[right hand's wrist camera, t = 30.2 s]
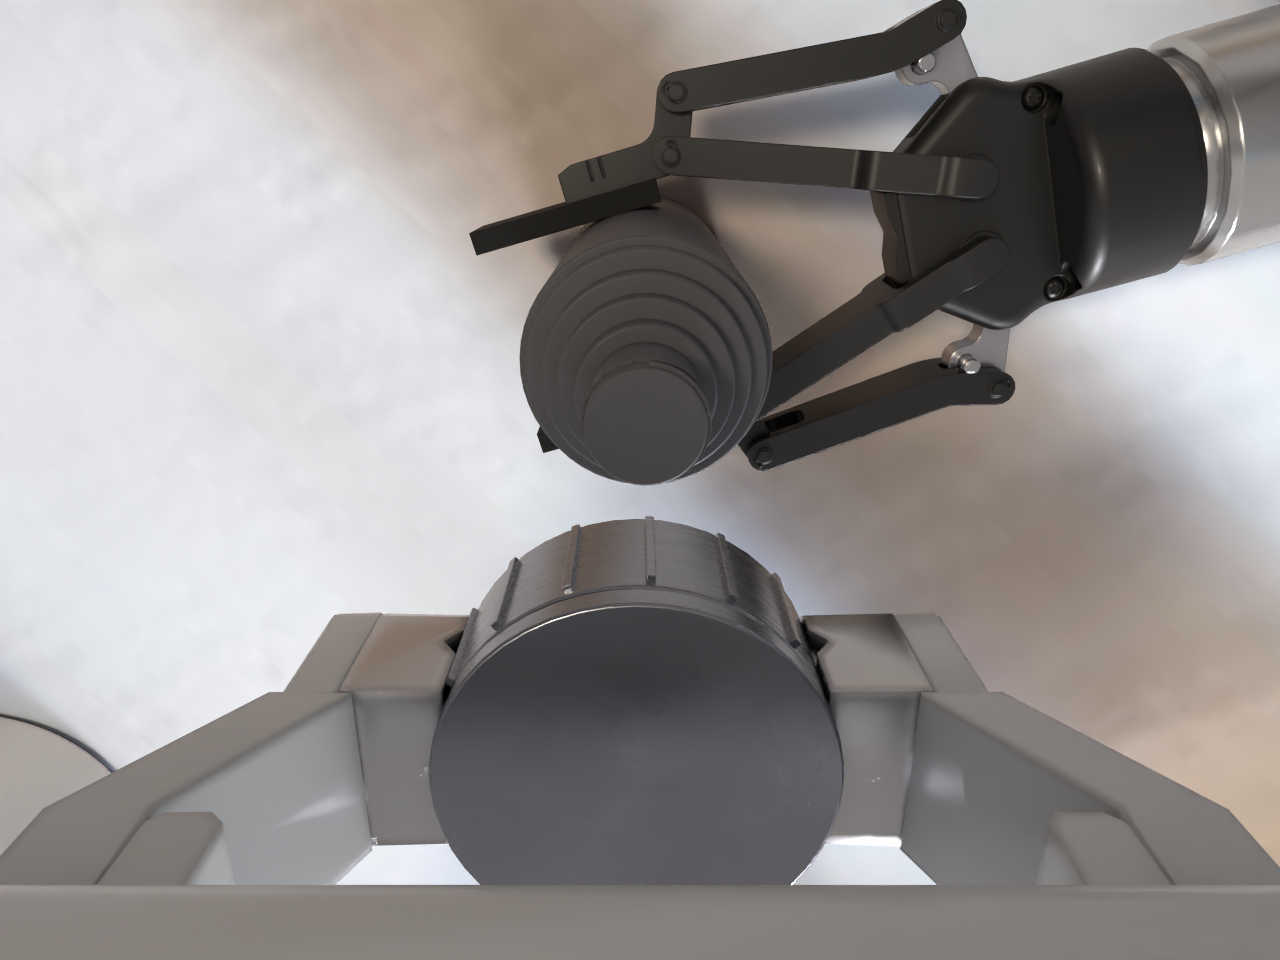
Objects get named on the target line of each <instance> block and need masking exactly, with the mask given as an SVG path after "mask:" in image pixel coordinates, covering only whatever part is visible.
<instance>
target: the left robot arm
mask: <svg viewBox="0 0 1280 960" xmlns="http://www.w3.org/2000/svg"><path fill="white" fill-rule="evenodd" d="M966 19H967V15H966V10H965V8H964V6H963V5H962V3H961V2H959V1H957V0H941V1H939V2H937V3H934V4H932V5H930V6H928V7H926V8H924V9H922V10H919V11H917V12H916V13H914V14H912V15H911V16H909V17H907V18H906V19H904V20H902V21H901V22H899V23H897V24H896V25H894V26H892V27H891V28H889V29H888V30H886V31H884V32H882V33H877V34H872V35H866V36H861V37H856V38H851V39H845V40H840V41H835V42H829V43H824V44H819V45H814V46H808V47H803V48H798V49H793V50H787V51H782V52H777V53H772V54H766V55H761V56H756V57H750V58H745V59H740V60H735V61H729V62H724V63H719V64H714V65H708V66H703V67H698V68H692V69H687V70H682V71H677V72H672V73H670V74H668V75H666V76H665V77H664V78H663V79H662V80H661V81H660V84H659V86H658V90H657V98H656V111H655V123H654V129H653V131H652V133H651V135H650V136H649V138H648V139H647V140H645V141H644V142H643V143H641V144H638V145H636V146H632V147H629V148H625V149H622V150H619V151H615V152H612V153H609V154H605V155H602V156H599V157H595V158H592V159H589V160H585V161H582V162H579V163H575V164H572V165H570V166H569V167H568V168H566V169H565V170H564V171H563V172H562V173H560V174H559V175H558V177H559V181H560V184H561V187H562V191H563V194H564V198H565V201H566V202H563V203H560V204H556V205H553V206H549V207H546V208H543V209H539V210H536V211H532V212H529V213H526V214H522V215H519V216H515V217H512V218H509V219H505V220H502V221H498V222H495V223H492V224H488V225H485V226H482V227H480V228H479V229H477V230H475V231H473V232H471V233H469V234H470V237H471V240H472V243H473V246H474V249H475V252H476V255H480V254H483V253H487V252H490V251H494V250H497V249H501V248H504V247H507V246H511V245H514V244H518V243H521V242H525V241H528V240H532V239H535V238H538V237H542V236H545V235H549V234H552V233H556V232H559V231H563V230H566V229H569V228H573V227H576V226H580V225H583V224H587V223H590V222H594V221H597V220H600V219H604V218H607V217H611V216H614V215H618V214H621V213H625V212H628V211H631V210H635V209H638V208H642V207H645V206H649V205H652V204H656V203H659V202H661V198H660V193H659V190H658V186H657V182H656V179H659V178H662V177H665V176H669V175H675V176H689V177H703V178H716V179H730V180H744V181H758V182H771V183H785V184H799V185H813V186H826V187H840V188H853V189H863V190H870V192H871V197H872V203H873V208H874V212H875V215H876V217H877V219H878V221H879V223H880V225H881V227H882V229H883V232H884V235H883V247H882V259H883V265H884V270H885V273H884V274H882V275H881V276H879V277H878V278H876V279H875V280H873V281H872V282H870V283H869V284H868V285H866V286H865V287H864V288H863V290H862V291H861V293H860V294H858V295H857V296H856V297H854V298H853V299H851V300H850V301H848V302H847V303H845V304H844V305H842V306H841V307H839V308H838V309H836V310H835V311H833V312H832V313H830V314H829V315H827V316H826V317H824V318H823V319H821V320H820V321H818V322H817V323H815V324H814V325H812V326H811V327H809V328H808V329H806V330H805V331H803V332H802V333H800V334H799V335H797V336H796V337H794V338H793V339H791V340H790V341H788V342H787V343H785V344H784V345H782V346H781V347H779V348H778V349H776V350H775V351H773V352H772V374H771V379H770V385H769V389H768V392H767V395H766V399H765V402H764V404H763V406H762V409H761V411H760V413H759V415H758V417H757V419H756V420H755V422H754V423H753V425H752V427H751V428H750V430H749V431H748V432H747V434H746V435H745V436H744V437H743V438H742V440H741V441H740V442H739V443H738V445H739V446H740V448H741V449H742V451H743V452H744V453H745V455H746V456H747V458H748V460H749V462H750V464H751V465H752V467H754V468H755V469H757V470H761V471H767V470H771V469H774V468H777V467H780V466H782V465H785V464H788V463H791V462H794V461H796V460H799V459H802V458H805V457H808V456H810V455H813V454H816V453H819V452H822V451H824V450H827V449H830V448H833V447H836V446H838V445H841V444H844V443H847V442H850V441H852V440H855V439H858V438H861V437H864V436H866V435H869V434H872V433H875V432H878V431H880V430H883V429H886V428H889V427H892V426H894V425H897V424H900V423H903V422H906V421H908V420H911V419H914V418H917V417H920V416H923V415H925V414H928V413H931V412H934V411H937V410H939V409H942V408H945V407H948V406H962V405H998V404H1002V403H1004V402H1006V401H1008V400H1009V399H1010V398H1011V396H1012V395H1013V393H1014V390H1015V382H1014V380H1013V378H1012V377H1011V376H1010V375H1008V374H1007V373H1005V364H1006V356H1007V348H1008V340H1009V332H1010V328H1011V327H1013V326H1015V325H1017V324H1019V323H1020V322H1022V321H1023V320H1024V319H1025V318H1026V317H1027V316H1029V315H1030V314H1031V313H1032V312H1034V311H1035V310H1037V309H1038V308H1040V307H1042V306H1044V305H1046V304H1048V303H1052V302H1055V301H1059V300H1064V299H1068V298H1072V297H1076V296H1079V295H1083V294H1087V293H1091V292H1094V291H1098V290H1102V289H1106V288H1109V287H1113V286H1117V285H1121V284H1124V283H1128V282H1132V281H1136V280H1139V279H1143V278H1147V277H1151V276H1154V275H1158V274H1162V273H1165V272H1167V271H1169V270H1170V269H1172V268H1173V267H1174V266H1176V265H1177V264H1178V263H1181V264H1185V265H1195V264H1202V263H1205V262H1209V261H1212V260H1216V259H1219V258H1223V257H1227V256H1230V255H1234V254H1237V253H1241V252H1244V251H1248V250H1252V249H1255V248H1259V247H1262V246H1266V245H1269V244H1273V243H1276V242H1280V4H1279V5H1276V6H1272V7H1269V8H1265V9H1262V10H1258V11H1255V12H1252V13H1248V14H1245V15H1241V16H1238V17H1234V18H1231V19H1227V20H1224V21H1220V22H1217V23H1214V24H1210V25H1207V26H1203V27H1200V28H1196V29H1193V30H1189V31H1186V32H1182V33H1179V34H1176V35H1172V36H1169V37H1166V38H1164V39H1161V40H1159V41H1156V42H1155V43H1153V44H1152V45H1151V46H1150V47H1149V48H1148V49H1147V50H1145V49H1140V48H1128V49H1125V50H1121V51H1118V52H1114V53H1111V54H1107V55H1104V56H1101V57H1097V58H1094V59H1090V60H1087V61H1083V62H1080V63H1077V64H1073V65H1070V66H1066V67H1063V68H1059V69H1056V70H1053V71H1049V72H1046V73H1042V74H1039V75H1035V76H1032V77H1029V78H1025V79H1022V80H1018V81H1014V82H1005V81H999V80H996V79H993V78H989V77H978V76H977V74H976V71H975V69H974V66H973V64H972V61H971V59H970V56H969V53H968V51H967V48H966V46H965V43H964V41H963V38H962V36H961V32H962V30H963V29H964V27H965V24H966ZM893 71H895V73H896V76H897V77H898V79H899V80H900V81H901V82H902V83H903V84H906V85H911V86H913V85H919V84H923V83H930V84H933V85H935V86H936V87H937V88H938V89H939V91H940V92H941V95H940V97H939V98H938V99H937V100H936V101H935V102H934V104H933V105H932V106H931V107H930V108H929V110H928V111H927V112H926V113H925V114H924V116H923V117H922V118H921V119H920V120H919V121H918V123H917V124H916V125H915V126H914V127H913V129H912V130H911V131H910V132H909V133H908V135H907V136H906V137H905V138H904V139H903V140H902V142H901V143H900V144H899V145H898V146H897V148H896V149H895V150H894V151H893V152H881V151H867V150H853V149H839V148H826V147H812V146H799V145H785V144H771V143H758V142H744V141H731V140H717V139H703V138H690V133H691V122H692V111H697V110H702V109H707V108H713V107H718V106H723V105H729V104H734V103H739V102H745V101H750V100H756V99H761V98H766V97H772V96H777V95H782V94H788V93H793V92H798V91H804V90H809V89H815V88H820V87H825V86H831V85H836V84H841V83H847V82H852V81H858V80H862V79H866V78H870V77H874V76H878V75H882V74H885V73H889V72H893ZM937 309H938V310H941V311H943V312H946V313H948V314H951V315H953V316H956V317H959V318H961V319H964V320H966V321H969V322H972V323H974V326H973V329H972V331H971V333H970V334H969V335H968V336H967V337H966V338H964V339H962V340H959V341H956V342H952V343H951V344H949V345H948V346H947V347H946V348H945V349H944V351H943V353H942V357H941V358H934V359H928V360H923V361H919V362H916V363H913V364H909V365H907V366H904V367H901V368H899V369H896V370H893V371H890V372H888V373H885V374H882V375H879V376H877V377H874V378H871V379H868V380H866V381H863V382H860V383H858V384H855V385H852V386H849V387H847V388H844V389H841V390H838V391H836V392H833V393H830V394H827V395H825V396H822V397H819V398H817V399H814V400H811V401H808V402H806V403H803V404H800V405H797V406H795V407H792V408H789V409H786V410H784V411H781V412H778V413H776V414H773V415H770V416H767V417H765V418H762V417H764V416H765V415H767V414H768V413H770V412H772V411H773V410H775V409H776V408H778V407H779V406H781V405H782V404H784V403H785V402H787V401H789V400H790V399H792V398H793V397H795V396H796V395H798V394H799V393H801V392H802V391H804V390H805V389H807V388H809V387H810V386H812V385H813V384H815V383H816V382H818V381H819V380H821V379H822V378H824V377H825V376H827V375H829V374H830V373H832V372H833V371H835V370H836V369H838V368H839V367H841V366H842V365H844V364H845V363H847V362H849V361H850V360H852V359H853V358H855V357H856V356H858V355H859V354H861V353H862V352H864V351H866V350H867V349H869V348H870V347H872V346H873V345H875V344H876V343H878V342H879V341H881V340H882V339H884V338H886V337H887V336H889V335H890V334H892V333H895V332H899V331H903V330H905V329H907V328H909V327H911V326H912V325H914V324H915V323H917V322H919V321H920V320H922V319H923V318H925V317H926V316H928V315H929V314H931V313H932V312H934V311H936V310H937ZM537 436H538V439H539V442H540V445H541V448H542V451H543V453H545V452H549V451H553V450H556V449H559V448H558V447H557V446H556V445H555V444H554V443H553V442H552V441H551V439H550V438H549V437H548V436H547V435H546V434H545V432H544V431H543V430H542V428H541V426H540V428H539V430H538V433H537Z"/></svg>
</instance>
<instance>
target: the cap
mask: <svg viewBox="0 0 1280 960" xmlns="http://www.w3.org/2000/svg"><path fill="white" fill-rule="evenodd" d="M817 653H818V652H817V651H816V650H813V649H810V647H809V644H808V641H807V638H806V635H805V632H804V629H803V626H802V624H801V621H800V618H799V616H798V614H797V612H796V610H795V608H794V606H793V604H792V602H791V600H790V599H789V597H788V596H787V594H786V593H785V591H784V589H783V586H782V583H781V580H780V577H779V576H778V575H777V574H776V573H774V574H772V575H771V574H770V573H769V572H768V571H767V570H766V569H765V568H764V567H763V566H762V565H761V564H759V563H758V562H757V561H756V560H755V559H753V558H752V557H751V556H750V555H749V554H747V553H746V552H744V551H742V550H741V549H739V548H738V547H736V546H735V545H733V544H731V543H730V542H728V541H726V540H725V536H724V535H722V534H719V533H717V535H716V536H715V535H713V534H711V533H708V532H706V531H702V530H699V529H696V528H693V527H690V526H687V525H683V524H677V523H672V522H666V521H661V520H654V517H648V516H646V517H645V519H629V520H613V521H607V522H602V523H596V524H591V525H587V526H584V527H580V525H575V526H572V529H571V531H568V532H565V533H563V534H561V535H559V536H556V537H554V538H552V539H550V540H548V541H546V542H544V543H542V544H541V545H539V546H537V547H536V548H534V549H533V550H531V551H529V552H528V553H526V554H525V555H524V556H523V557H521V558H520V559H519V560H518V559H517V558H516V557H515V558H513V559H512V560H511V561H510V563H509V566H508V569H507V570H506V571H505V573H504V574H503V575H502V576H501V577H500V578H499V579H498V580H497V581H496V582H495V583H494V585H493V586H492V588H491V589H490V591H489V592H488V594H487V595H486V596H485V598H484V599H483V601H482V603H481V605H480V607H479V609H478V610H477V609H475V608H473V609H472V611H471V613H470V615H469V618H468V621H467V624H466V626H465V629H464V632H463V635H462V638H461V640H460V643H459V646H458V649H457V652H456V654H455V657H454V660H453V663H452V666H451V668H450V671H449V674H448V677H447V680H446V682H445V684H446V685H448V686H450V689H449V692H448V694H447V697H446V701H445V703H444V706H443V709H442V712H441V715H440V718H439V721H438V724H437V727H436V730H435V734H434V737H433V740H432V746H431V753H430V760H429V785H430V791H431V796H432V802H433V807H434V810H435V813H436V816H437V819H438V822H439V825H440V828H441V830H442V832H443V834H444V836H445V838H446V840H447V842H448V844H449V846H450V848H451V850H452V851H453V852H454V854H455V855H456V857H457V858H458V859H459V861H460V862H461V864H462V865H463V866H464V868H465V869H466V870H467V871H468V872H469V873H470V874H471V875H472V876H473V877H474V878H475V879H476V881H477V882H478V883H479V884H480V885H793V884H794V882H795V881H796V880H797V879H798V878H799V877H800V876H801V875H802V874H803V873H804V872H805V871H806V870H807V869H808V868H809V866H810V865H811V863H812V862H813V861H814V859H815V858H816V856H817V855H818V854H819V852H820V851H821V849H822V848H823V846H824V844H825V842H826V840H827V838H828V836H829V834H830V832H831V830H832V828H833V825H834V822H835V819H836V816H837V813H838V810H839V807H840V802H841V797H842V791H843V786H844V759H843V752H842V745H841V740H840V736H839V733H838V730H837V727H836V723H835V720H834V717H833V714H832V711H831V708H830V705H829V703H828V700H827V697H826V694H825V691H824V688H823V685H822V682H821V679H820V676H819V673H818V670H817V667H816V662H817Z"/></svg>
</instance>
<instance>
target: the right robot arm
mask: <svg viewBox="0 0 1280 960" xmlns="http://www.w3.org/2000/svg"><path fill="white" fill-rule="evenodd" d="M468 618H469V615H427V614H384V615H383V614H382V613H352V614H338V615H334V616H333V617H332V618H331V620H330V621H329V623H328V625H327V626H326V628H325V629H324V631H323V632H322V634H321V635H320V637H319V638H318V640H317V641H316V643H315V644H314V646H313V647H312V649H311V650H310V652H309V653H308V655H307V656H306V658H305V660H304V661H303V663H302V664H301V666H300V667H299V669H298V670H297V672H296V673H295V675H294V676H293V678H292V679H291V681H290V682H289V684H288V685H287V687H286V688H285V690H284V691H283V692H269V693H267V694H265V695H263V696H261V697H259V698H257V699H255V700H253V701H251V702H249V703H247V704H245V705H243V706H241V707H239V708H237V709H236V710H234V711H232V712H230V713H228V714H226V715H224V716H222V717H220V718H218V719H216V720H214V721H212V722H210V723H208V724H206V725H204V726H202V727H200V728H199V729H197V730H195V731H193V732H191V733H189V734H187V735H185V736H183V737H181V738H179V739H177V740H175V741H173V742H171V743H169V744H167V745H165V746H164V747H162V748H160V749H158V750H156V751H154V752H152V753H150V754H148V755H146V756H144V757H142V758H140V759H138V760H136V761H134V762H132V763H130V764H128V765H127V766H125V767H123V768H121V769H119V770H117V771H115V772H113V773H111V772H110V771H109V770H108V769H107V768H106V767H105V766H104V765H102V764H101V763H100V762H99V761H98V760H96V759H95V758H94V757H93V756H91V755H90V754H89V753H87V752H86V751H84V750H83V749H81V748H80V747H78V746H77V745H75V744H73V743H72V742H70V741H68V740H66V739H64V738H63V737H61V736H59V735H57V734H54V733H52V732H50V731H48V730H45V729H42V728H40V727H37V726H34V725H31V724H28V723H25V722H21V721H17V720H13V719H8V718H3V717H0V960H1280V867H1279V866H1278V865H1277V864H1276V863H1275V862H1274V860H1273V859H1272V858H1271V857H1270V856H1269V855H1268V854H1267V853H1266V851H1265V850H1264V849H1263V848H1262V847H1261V846H1260V845H1259V843H1258V842H1257V841H1256V840H1255V839H1254V838H1253V837H1252V835H1251V834H1250V833H1249V832H1248V831H1247V830H1246V829H1245V828H1244V826H1243V825H1242V824H1241V823H1240V822H1239V821H1238V820H1237V818H1236V817H1235V816H1234V815H1233V814H1232V813H1231V812H1230V811H1229V810H1228V809H1226V808H1225V807H1223V806H1221V805H1219V804H1217V803H1215V802H1213V801H1211V800H1209V799H1207V798H1205V797H1203V796H1201V795H1200V794H1198V793H1196V792H1194V791H1192V790H1190V789H1188V788H1186V787H1184V786H1182V785H1180V784H1178V783H1176V782H1175V781H1173V780H1171V779H1169V778H1167V777H1165V776H1163V775H1161V774H1159V773H1157V772H1155V771H1153V770H1151V769H1150V768H1148V767H1146V766H1144V765H1142V764H1140V763H1138V762H1136V761H1134V760H1132V759H1130V758H1128V757H1126V756H1125V755H1123V754H1121V753H1119V752H1117V751H1115V750H1113V749H1111V748H1109V747H1107V746H1105V745H1103V744H1101V743H1100V742H1098V741H1096V740H1094V739H1092V738H1090V737H1088V736H1086V735H1084V734H1082V733H1080V732H1078V731H1076V730H1075V729H1073V728H1071V727H1069V726H1067V725H1065V724H1063V723H1061V722H1059V721H1057V720H1055V719H1053V718H1051V717H1050V716H1048V715H1046V714H1044V713H1042V712H1040V711H1038V710H1036V709H1034V708H1032V707H1030V706H1028V705H1026V704H1025V703H1023V702H1021V701H1019V700H1017V699H1015V698H1013V697H1011V696H1009V695H1007V694H1005V693H1003V692H989V691H988V690H987V688H986V687H985V685H984V684H983V682H982V681H981V679H980V678H979V676H978V675H977V673H976V671H975V670H974V668H973V667H972V665H971V664H970V662H969V661H968V659H967V658H966V656H965V655H964V653H963V652H962V650H961V648H960V647H959V645H958V644H957V642H956V641H955V639H954V638H953V636H952V635H951V633H950V632H949V630H948V629H947V627H946V625H945V624H944V622H943V621H942V619H941V618H940V616H938V615H936V614H934V613H911V614H856V615H814V616H802V617H799V618H800V621H801V624H802V626H803V629H804V632H805V635H806V638H807V641H808V644H809V647H810V649H813V650H816V651H817V652H818V653H817V662H816V667H817V670H818V673H819V676H820V679H821V682H822V685H823V688H824V691H825V694H826V697H827V700H828V703H829V705H830V708H831V711H832V714H833V717H834V720H835V723H836V727H837V730H838V733H839V736H840V740H841V745H842V752H843V759H844V786H843V791H842V797H841V802H840V807H839V810H838V813H837V816H836V819H835V822H834V825H833V828H832V830H831V832H830V834H829V836H828V838H827V840H826V842H825V844H859V845H896V846H901V848H900V850H902V851H903V852H904V853H905V854H906V855H907V856H908V857H909V858H910V859H911V860H912V861H913V862H914V863H915V864H916V865H917V866H918V867H919V868H920V869H921V870H922V871H923V872H924V873H926V874H927V875H928V876H929V877H930V878H931V879H932V880H933V881H934V882H935V883H936V884H937V885H336V884H337V883H338V882H339V881H340V880H341V879H342V878H343V877H344V876H345V875H346V874H347V873H348V872H349V871H351V870H352V869H353V868H354V867H355V866H356V865H357V864H358V863H359V862H360V861H361V860H362V859H363V858H364V857H365V856H366V855H367V854H368V853H370V852H371V851H372V846H377V845H412V844H448V842H447V840H446V838H445V836H444V834H443V832H442V830H441V828H440V825H439V822H438V819H437V816H436V813H435V810H434V807H433V802H432V796H431V791H430V785H429V760H430V753H431V746H432V740H433V737H434V734H435V730H436V727H437V724H438V721H439V718H440V715H441V712H442V709H443V706H444V703H445V701H446V697H447V694H448V692H449V689H450V686H448V685H446V684H445V682H446V680H447V677H448V674H449V671H450V668H451V666H452V663H453V660H454V657H455V654H456V652H457V649H458V646H459V643H460V640H461V638H462V635H463V632H464V629H465V626H466V624H467V621H468Z"/></svg>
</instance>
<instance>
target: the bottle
mask: <svg viewBox="0 0 1280 960" xmlns="http://www.w3.org/2000/svg"><path fill="white" fill-rule="evenodd" d="M520 373H521V379H522V384H523V389H524V392H525V395H526V398H527V401H528V404H529V406H530V408H531V411H532V413H533V415H534V417H535V419H536V420H537V422H538V423H539V425H540V426H541V428H542V430H543V431H544V432H545V434H546V435H547V436H548V437H549V438H550V439H551V441H552V442H553V443H554V444H555V445H556V446H557V447H558V448H559V449H560V450H561V451H562V452H564V453H565V454H566V455H567V456H568V457H569V458H570V459H572V460H573V461H575V462H576V463H578V464H579V465H580V466H582V467H584V468H586V469H587V470H589V471H591V472H593V473H595V474H598V475H600V476H603V477H605V478H608V479H611V480H616V481H620V482H624V483H631V484H635V485H656V484H662V483H668V482H672V481H676V480H680V479H684V478H687V477H689V476H692V475H694V474H697V473H699V472H701V471H703V470H705V469H706V468H708V467H710V466H712V465H713V464H715V463H716V462H717V461H719V460H720V459H722V458H723V457H724V456H725V455H726V454H727V453H728V452H730V451H731V450H732V449H733V448H734V447H735V446H736V445H737V444H738V443H739V442H740V441H741V440H742V438H743V437H744V436H745V435H746V434H747V432H748V431H749V430H750V428H751V427H752V425H753V423H754V422H755V420H756V419H757V417H758V415H759V413H760V411H761V409H762V406H763V404H764V402H765V399H766V395H767V392H768V389H769V385H770V379H771V374H772V345H771V337H770V333H769V328H768V324H767V321H766V318H765V316H764V313H763V310H762V308H761V306H760V304H759V302H758V300H757V299H756V297H755V295H754V293H753V292H752V290H751V289H750V287H749V286H748V284H747V283H746V281H745V280H744V279H743V277H742V276H741V274H740V273H739V271H738V270H737V268H736V267H735V265H734V264H733V263H732V261H731V260H730V258H729V257H728V255H727V254H726V252H725V251H724V249H723V248H722V247H721V245H720V244H719V242H718V241H717V239H716V238H715V236H714V235H713V233H712V232H711V231H710V229H709V228H708V227H707V225H706V224H705V223H704V222H703V221H702V220H701V219H700V218H699V217H698V216H697V215H696V214H695V213H693V212H692V211H691V210H689V209H688V208H686V207H684V206H683V205H681V204H679V203H676V202H674V201H671V200H668V199H664V198H661V202H659V203H656V204H652V205H649V206H645V207H642V208H638V209H635V210H631V211H628V212H625V213H621V214H618V215H614V216H611V217H607V218H604V219H600V220H597V221H594V222H590V223H587V224H586V225H585V227H584V228H583V230H582V231H581V232H580V234H579V235H578V237H577V238H576V240H575V241H574V243H573V244H572V246H571V247H570V248H569V250H568V251H567V253H566V254H565V256H564V257H563V259H562V260H561V262H560V263H559V265H558V266H557V267H556V269H555V270H554V272H553V273H552V275H551V276H550V278H549V279H548V281H547V282H546V283H545V285H544V286H543V288H542V289H541V291H540V292H539V294H538V295H537V297H536V299H535V301H534V303H533V305H532V307H531V309H530V311H529V314H528V316H527V319H526V322H525V325H524V329H523V334H522V338H521V346H520Z"/></svg>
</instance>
